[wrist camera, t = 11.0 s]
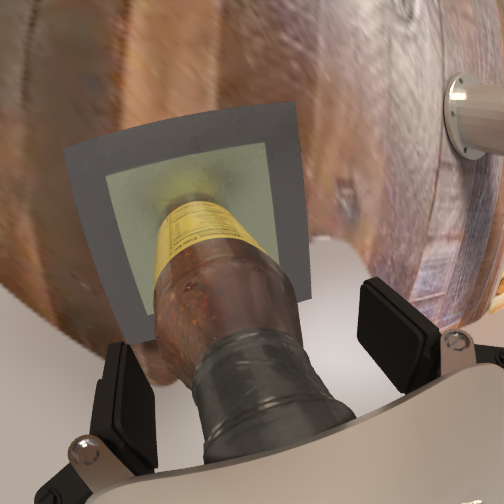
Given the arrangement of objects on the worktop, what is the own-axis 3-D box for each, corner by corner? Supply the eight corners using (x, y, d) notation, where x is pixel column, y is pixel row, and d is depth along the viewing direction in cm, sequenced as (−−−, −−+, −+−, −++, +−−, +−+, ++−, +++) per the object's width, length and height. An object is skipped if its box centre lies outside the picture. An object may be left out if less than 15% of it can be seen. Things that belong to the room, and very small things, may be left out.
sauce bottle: (226, 277, 25) (337, 512, 7) (151, 266, 23) (159, 539, 5) (246, 200, 23) (451, 394, 6) (166, 184, 21) (176, 437, 3)
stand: (277, 104, 25) (296, 101, 21) (295, 279, 33) (313, 300, 29) (77, 146, 22) (60, 149, 18) (130, 321, 29) (127, 347, 25)
